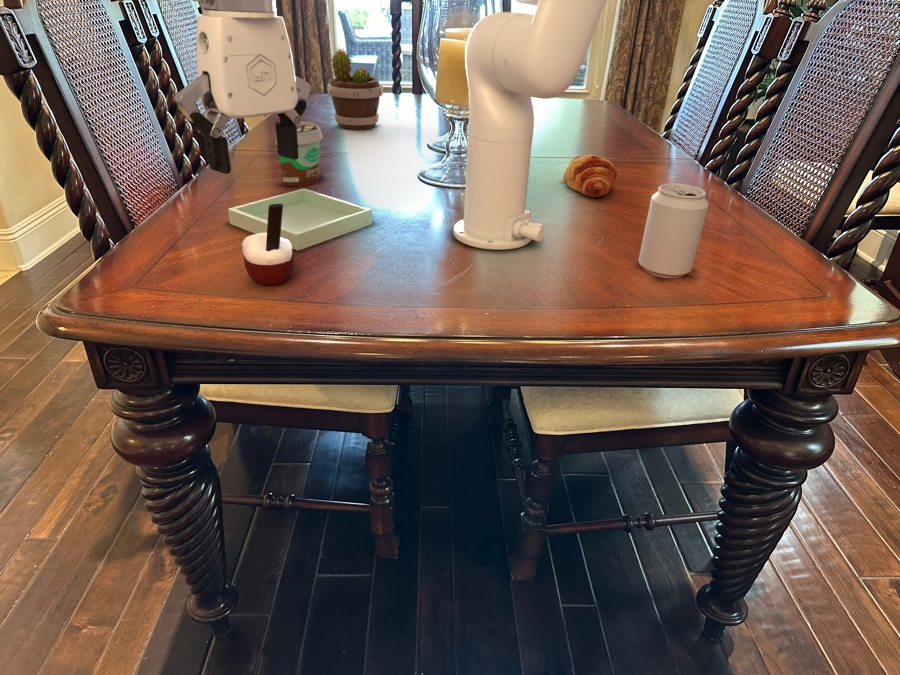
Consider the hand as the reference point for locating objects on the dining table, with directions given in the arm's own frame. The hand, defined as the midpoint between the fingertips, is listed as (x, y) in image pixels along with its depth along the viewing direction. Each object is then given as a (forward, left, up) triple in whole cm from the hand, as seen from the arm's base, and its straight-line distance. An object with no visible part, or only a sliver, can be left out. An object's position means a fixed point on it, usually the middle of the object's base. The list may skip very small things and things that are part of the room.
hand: (256, 164), depth 73 cm
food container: (+32, -34, -16) cm, 49 cm away
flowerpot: (+62, -77, -16) cm, 100 cm away
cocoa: (0, 0, -16) cm, 16 cm away
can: (-38, -40, -16) cm, 58 cm away
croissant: (-11, -70, -16) cm, 72 cm away
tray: (+14, -17, -15) cm, 27 cm away
